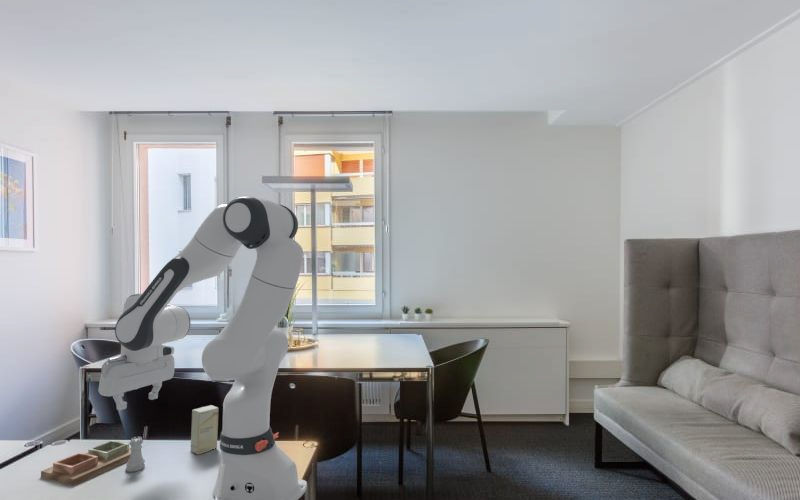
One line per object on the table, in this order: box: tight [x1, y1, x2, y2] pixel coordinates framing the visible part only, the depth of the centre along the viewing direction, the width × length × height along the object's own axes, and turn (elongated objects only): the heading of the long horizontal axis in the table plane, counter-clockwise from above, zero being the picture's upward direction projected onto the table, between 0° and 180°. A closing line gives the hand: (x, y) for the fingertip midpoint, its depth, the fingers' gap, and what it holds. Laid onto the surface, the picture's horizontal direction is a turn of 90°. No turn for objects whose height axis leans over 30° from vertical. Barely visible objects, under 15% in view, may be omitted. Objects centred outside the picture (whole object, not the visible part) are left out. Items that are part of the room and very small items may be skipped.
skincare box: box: [190, 404, 219, 455], centre depth 128 cm, size 6×4×12 cm
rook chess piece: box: [125, 436, 146, 473], centre depth 116 cm, size 4×4×8 cm
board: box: [40, 439, 131, 486], centre depth 117 cm, size 12×18×4 cm, turn 161°
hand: (138, 403), depth 116 cm, fingers open, 8 cm apart
